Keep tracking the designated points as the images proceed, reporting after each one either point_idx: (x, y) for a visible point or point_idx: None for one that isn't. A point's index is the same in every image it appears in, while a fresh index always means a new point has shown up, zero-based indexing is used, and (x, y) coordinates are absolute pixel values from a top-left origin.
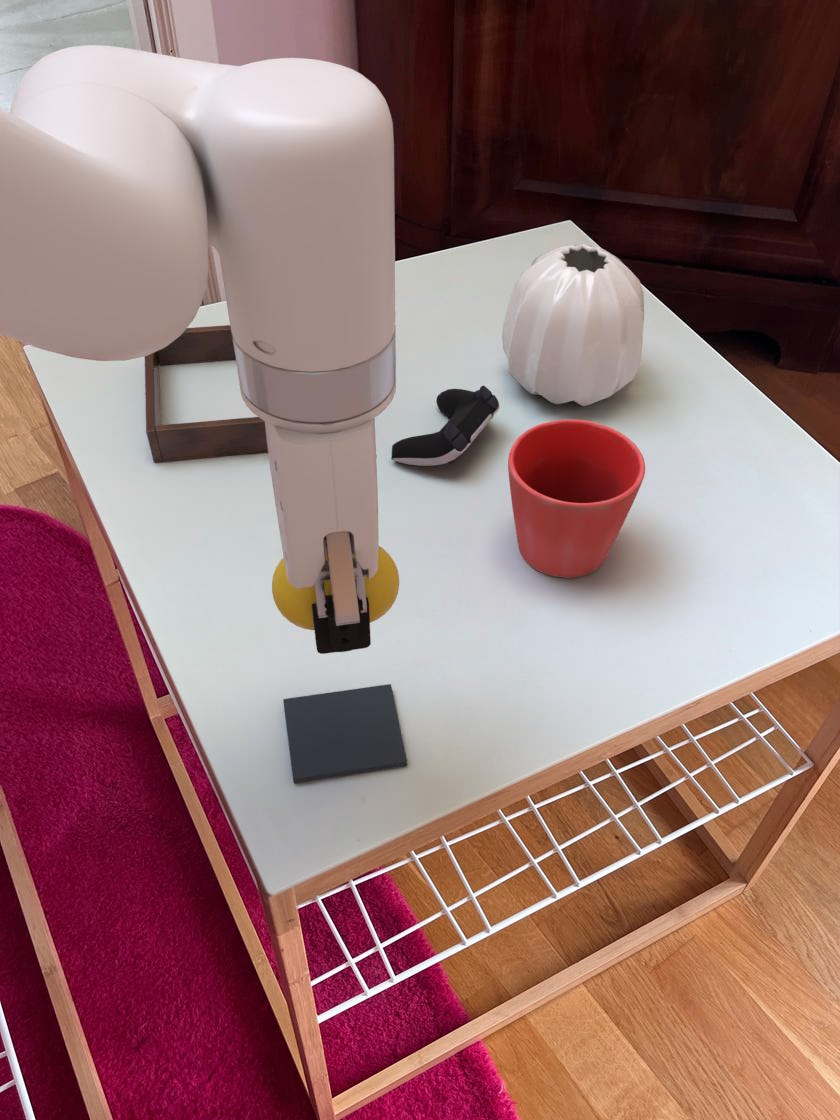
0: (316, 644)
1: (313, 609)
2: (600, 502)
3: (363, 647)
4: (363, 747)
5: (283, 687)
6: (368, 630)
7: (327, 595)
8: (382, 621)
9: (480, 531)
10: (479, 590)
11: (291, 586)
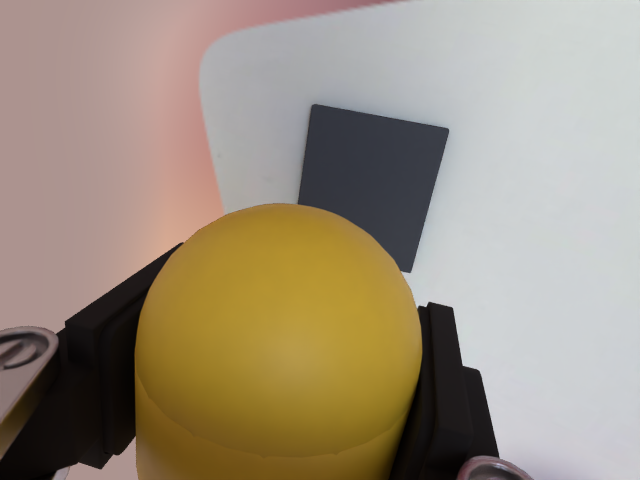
0: (166, 252)
1: (67, 325)
2: None
3: None
4: (327, 206)
5: (478, 136)
6: None
7: (53, 401)
8: (528, 303)
9: (618, 475)
10: (515, 425)
11: (172, 301)
